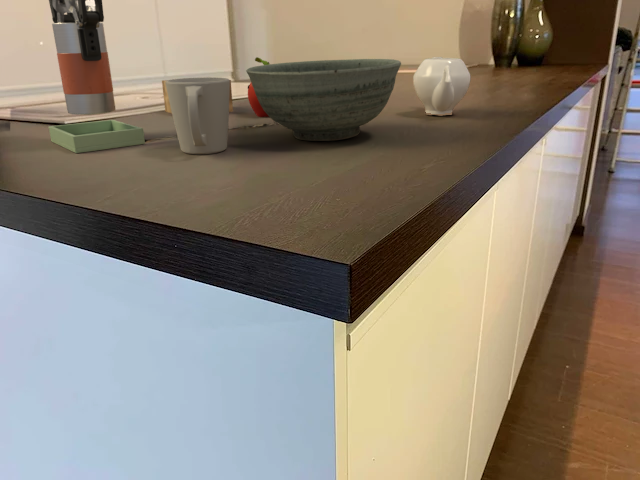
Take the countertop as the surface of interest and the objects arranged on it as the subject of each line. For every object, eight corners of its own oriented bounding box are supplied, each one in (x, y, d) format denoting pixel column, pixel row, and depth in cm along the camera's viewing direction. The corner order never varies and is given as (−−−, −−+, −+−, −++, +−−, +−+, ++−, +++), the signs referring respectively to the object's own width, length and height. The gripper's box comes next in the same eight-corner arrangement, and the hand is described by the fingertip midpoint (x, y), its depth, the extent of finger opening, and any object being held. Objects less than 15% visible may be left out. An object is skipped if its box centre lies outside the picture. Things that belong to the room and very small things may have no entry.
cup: (236, 143, 71) (232, 76, 68) (230, 159, 62) (225, 83, 59) (178, 145, 71) (171, 78, 68) (164, 161, 62) (154, 84, 59)
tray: (51, 141, 75) (48, 126, 74) (115, 133, 80) (113, 119, 80) (76, 153, 67) (73, 136, 66) (145, 143, 72) (143, 128, 72)
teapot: (415, 123, 85) (418, 61, 82) (408, 107, 104) (411, 56, 101) (476, 123, 84) (482, 61, 81) (459, 107, 103) (463, 56, 100)
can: (61, 111, 73) (45, 23, 69) (106, 107, 76) (94, 23, 72) (75, 116, 68) (59, 22, 64) (123, 111, 72) (110, 22, 68)
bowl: (429, 140, 72) (434, 61, 68) (288, 157, 63) (285, 68, 59) (349, 120, 89) (349, 57, 85) (229, 132, 80) (223, 61, 76)
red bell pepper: (296, 118, 93) (294, 56, 89) (267, 123, 88) (264, 58, 84) (265, 114, 97) (262, 56, 94) (237, 119, 93) (232, 57, 89)
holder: (165, 114, 99) (161, 80, 97) (209, 110, 104) (206, 77, 102) (188, 119, 92) (184, 83, 90) (233, 114, 98) (230, 79, 96)
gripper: (10, -83, 67) (37, 59, 73) (41, -106, 56) (70, 62, 62) (73, -76, 71) (94, 57, 77) (113, -96, 61) (133, 60, 67)
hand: (83, 59), depth 70 cm, fingers closed on can, 6 cm apart
